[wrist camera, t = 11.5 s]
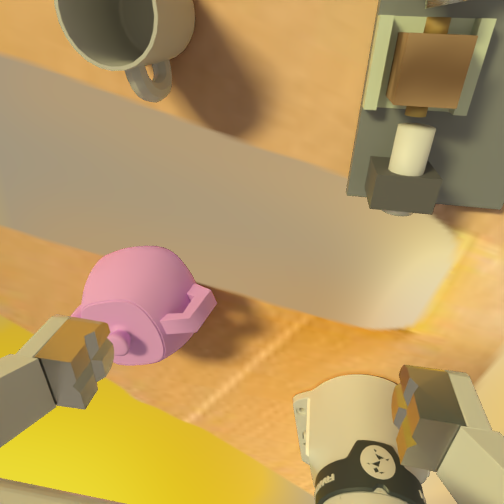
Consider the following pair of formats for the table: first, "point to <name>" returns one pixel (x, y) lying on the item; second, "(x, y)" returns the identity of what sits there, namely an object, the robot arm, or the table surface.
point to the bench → (433, 119)
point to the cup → (130, 37)
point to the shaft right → (439, 2)
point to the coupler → (429, 67)
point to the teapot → (145, 303)
